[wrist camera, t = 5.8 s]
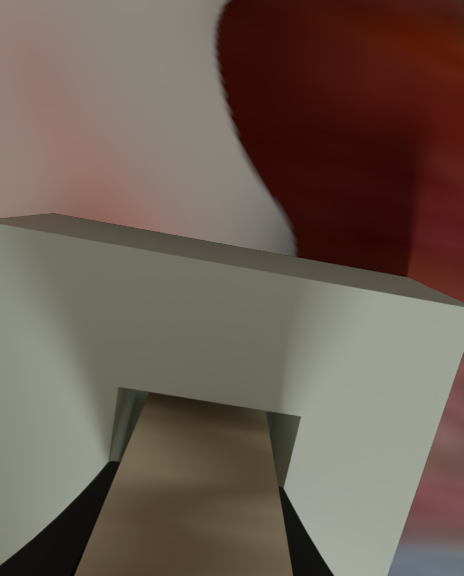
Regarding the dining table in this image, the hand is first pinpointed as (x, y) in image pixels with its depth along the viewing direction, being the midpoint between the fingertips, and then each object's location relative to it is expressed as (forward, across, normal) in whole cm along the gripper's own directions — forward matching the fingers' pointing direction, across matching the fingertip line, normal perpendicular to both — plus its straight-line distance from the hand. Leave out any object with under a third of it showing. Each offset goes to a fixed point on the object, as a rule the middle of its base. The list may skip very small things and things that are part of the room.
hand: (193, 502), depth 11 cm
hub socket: (+5, 0, 0) cm, 5 cm away
